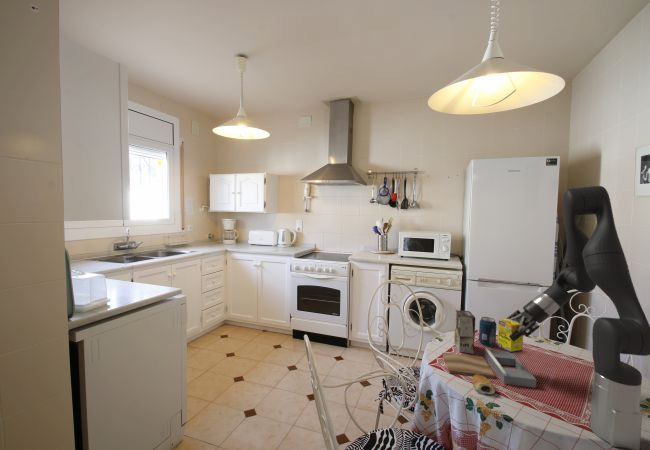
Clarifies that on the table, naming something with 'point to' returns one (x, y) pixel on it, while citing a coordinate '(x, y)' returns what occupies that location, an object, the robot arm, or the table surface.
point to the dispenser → (509, 375)
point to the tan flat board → (467, 365)
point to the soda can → (487, 331)
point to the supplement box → (504, 332)
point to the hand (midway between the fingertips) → (506, 334)
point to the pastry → (483, 385)
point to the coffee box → (464, 331)
